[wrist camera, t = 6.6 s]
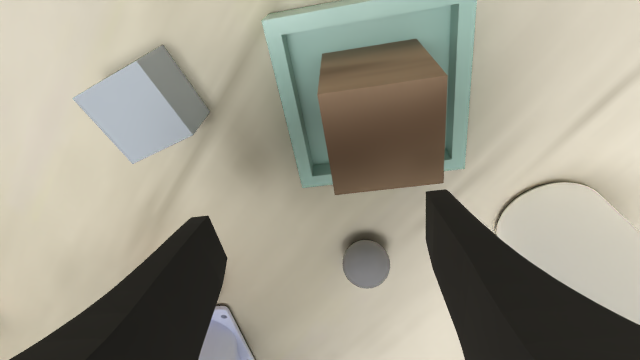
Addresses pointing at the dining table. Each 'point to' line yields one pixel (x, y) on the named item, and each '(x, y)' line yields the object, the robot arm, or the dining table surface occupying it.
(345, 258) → the grey ball
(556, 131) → the dining table surface
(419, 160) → the walnut block
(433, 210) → the robot arm
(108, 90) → the slate block
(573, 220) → the can
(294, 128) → the teal tray
